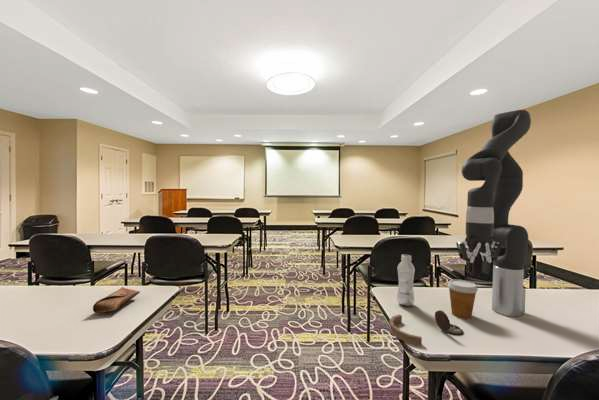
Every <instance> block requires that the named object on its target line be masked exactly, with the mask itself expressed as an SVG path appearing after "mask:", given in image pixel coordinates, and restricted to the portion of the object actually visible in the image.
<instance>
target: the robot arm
mask: <svg viewBox="0 0 599 400" xmlns="http://www.w3.org/2000/svg"><path fill="white" fill-rule="evenodd" d="M531 125H532V120H531V114H530V113H529V111H528V110H526V109H517V110H516V109H515V110H512V111H511V110H510V111H506V112H501V113H497V114H495V115H493V117H492V120H491V138H490V139H488V141H487V142H485V144H484V145H483V147H481V149H480V151H478V152H476V153H475V154H473V155H470V157H469V158H467V160H465V161H464V163H463V165H462V167H461V174H462V177H463V178H464V179H465V180H466V181H469V182H474V181H475V182H476V181H477V182H478V181H479V182H480V181H484V182H483V184H482V185H481V186H479V187H475V188H471V189H468V191H467V199H466V201H467V205H466V206H467V207H466V212H465V235H466V237H465V239H464V240H463V241H456V242H455V244H456V247H457V252H458V255H459V259H460V260H462V261H465V271H466V272H467V274H469V275H474V273H475V263H474V262H475V259H476V257H478V254H480V256H481V259H482V263H481V272H482V273H483V274H484V275H490V272H491V263H493V266H492V267H493V268H492V289H491V290H492V295H491V296H492V297H491V309H492V311H494V312H496V313H498V314H501V315H504V316H507V317H514V318H515V317H522V316H523V315H525V314H526V313H525V312H526V291H527V290H526V289H525V288H524V274H525V273H524V269H525V265H526V262H527V257H528V248H529V247H528V246H529V233H528V230H527V229H526V228H525V227H523V226H522V225H516V224H511V223H510V224H509V217H510V216H509V215H510V211H511V208H512V206H513V205H514V204H515V202H516V201H517V200H518V198H519V197H520V195H521V193H522V191H523V186H524V183H523V181H524V172H523V169H522V167H521V166H520V165H519V163H518V162H517V161H516V160H515V158H513V156H512V154H511V153H510V152H509V150H510V149H511V148H512V147H513V146H514V145H515V144H516V143H517V142H519V141H520V139H522V138H524V136H525V135H527V134H528V132H529V130H530V128H531ZM501 248H502V249H505V253H504V254H503V255H500V256H499V254H500V252H501Z"/></svg>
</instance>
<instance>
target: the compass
mask: <svg viewBox="0 0 599 400" xmlns="http://www.w3.org/2000/svg"><path fill="white" fill-rule="evenodd" d="M434 319H435V322H436V326H438V327H439V329H440V330H441V331H443V332H444V333H446V334H448V335H451V336H462V335H463V334H464V330H463V329H462V328H460V326H458V325H455V324H452V323H451V322H450V318H449V317H448V315H447V314H446V312H445V311H444V310H436V311H435V313H434Z"/></svg>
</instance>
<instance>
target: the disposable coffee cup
mask: <svg viewBox="0 0 599 400" xmlns="http://www.w3.org/2000/svg"><path fill="white" fill-rule="evenodd" d="M447 287H448V289H449V300H450V307H451V308H450V309H451V314H452V316H454V317H456V318H458V319H465V320H469V319H471V318H472V316H473V311H474V305H475V301H476V300H475V299H476V294H477V291H478V289H479V288H478V287H477V284H476V283H474V282H472V281H468V280H463V279H450V280H449V281H448V283H447Z"/></svg>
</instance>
